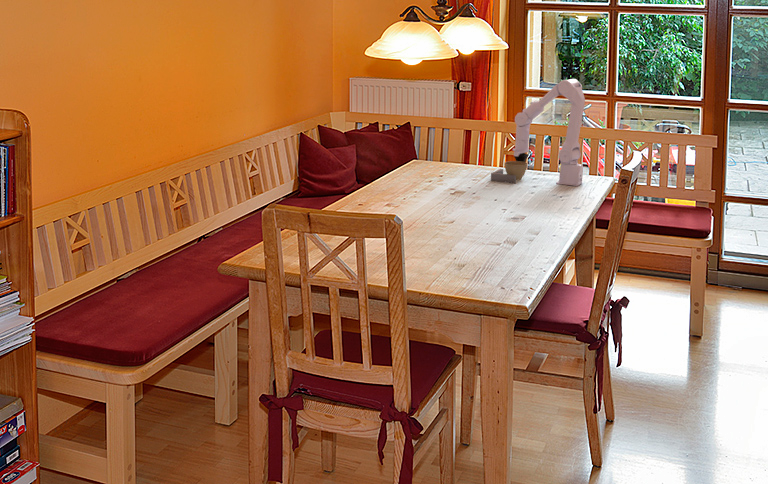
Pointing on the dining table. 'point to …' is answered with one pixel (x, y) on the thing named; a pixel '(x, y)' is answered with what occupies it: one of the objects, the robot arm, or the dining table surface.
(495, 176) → the keeper bracket
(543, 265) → the dining table surface
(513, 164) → the flower pot
